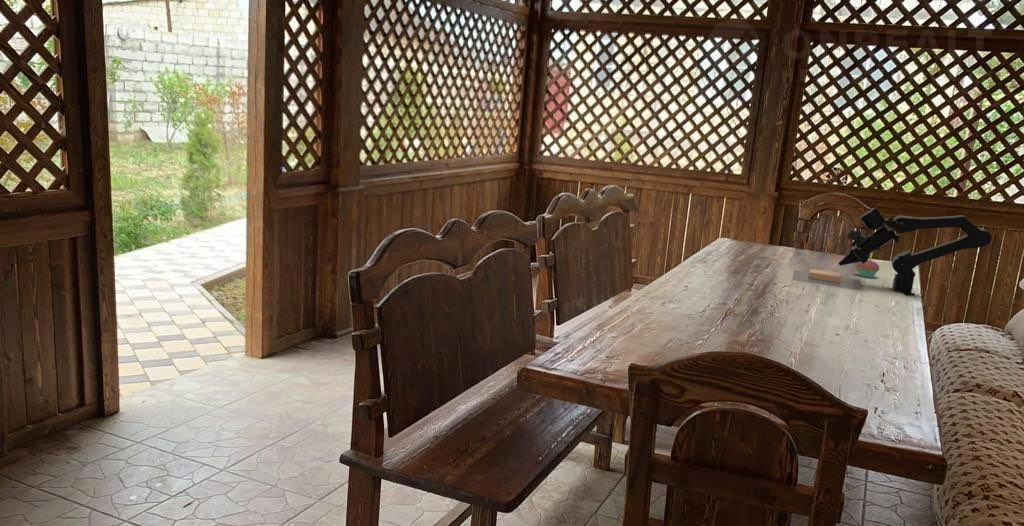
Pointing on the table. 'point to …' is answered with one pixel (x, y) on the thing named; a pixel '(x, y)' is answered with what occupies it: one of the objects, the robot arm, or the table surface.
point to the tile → (825, 276)
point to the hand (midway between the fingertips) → (839, 264)
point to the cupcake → (867, 268)
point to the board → (844, 282)
